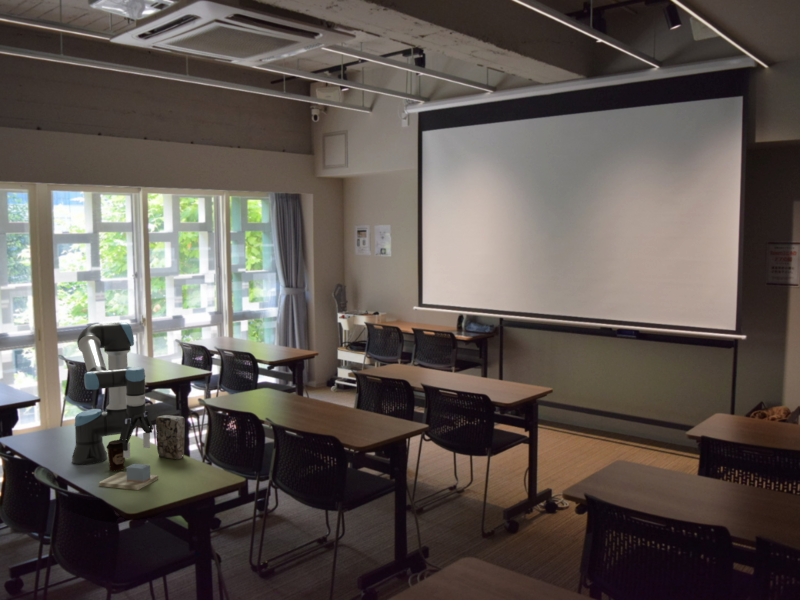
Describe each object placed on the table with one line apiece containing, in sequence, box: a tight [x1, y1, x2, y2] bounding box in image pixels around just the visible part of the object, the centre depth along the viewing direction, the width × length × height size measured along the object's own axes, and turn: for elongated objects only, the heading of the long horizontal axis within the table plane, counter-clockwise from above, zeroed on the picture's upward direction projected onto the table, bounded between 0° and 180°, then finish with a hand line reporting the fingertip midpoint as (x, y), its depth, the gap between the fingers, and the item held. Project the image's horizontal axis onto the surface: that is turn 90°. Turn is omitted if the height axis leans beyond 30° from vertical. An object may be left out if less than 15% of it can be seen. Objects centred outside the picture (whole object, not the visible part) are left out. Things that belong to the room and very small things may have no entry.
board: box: [98, 471, 159, 491], centre depth 288 cm, size 19×14×2 cm
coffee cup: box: [105, 439, 126, 472], centre depth 304 cm, size 9×8×13 cm
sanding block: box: [126, 463, 151, 483], centre depth 287 cm, size 8×5×6 cm, turn 76°
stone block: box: [155, 414, 186, 460], centre depth 322 cm, size 13×7×20 cm, turn 74°
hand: (137, 452), depth 287 cm, fingers open, 13 cm apart
